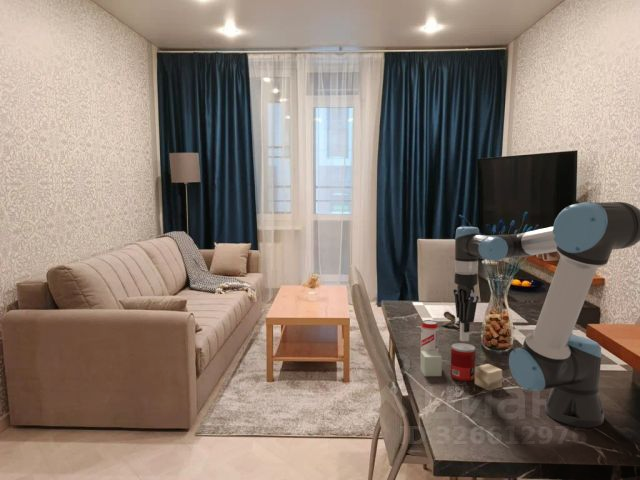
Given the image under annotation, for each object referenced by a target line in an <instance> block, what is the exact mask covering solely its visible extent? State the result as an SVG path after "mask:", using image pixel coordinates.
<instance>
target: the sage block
mask: <svg viewBox="0 0 640 480" xmlns="http://www.w3.org/2000/svg"><path fill="white" fill-rule="evenodd" d="M420 356H421V361H420V364H419V365H420V366H419V367H420V368H419V369H420V372H421V373H422V375H423V376H424V377H442V374H443V371H442V369H443V356H442V355H441V353H440V352H439V350H438V351H421V350H420Z"/></svg>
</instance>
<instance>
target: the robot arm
mask: <svg viewBox="0 0 640 480" xmlns="http://www.w3.org/2000/svg"><path fill="white" fill-rule="evenodd" d="M639 242H640V208H639V207H637V206H635V205H633V204H632V203H630V202H629V203H628V202H622V201H614V202H613V201H611V202H610V201H609V202H604V201H603V202H592V201H585V202H581V203H574V204H573V203H572V204H571V205H568V206H566V207H565V208H563V209H562V210H561V211H560V212H559V213H558V215H556V218H555V219H554V222H553V226H549V227H545V228H538V229H535V230H529V231H526V232H521V233H516V234H515V233H513V234H495V235H493V234H491V235H486V234H480V229H479V228H478V227H475V226H459V227H457V228H456V231H455V237H454V245H455V246H454V271H455V273H454V284H455V285H457V286H456V289H453V294H454V302H455V317H456V319H457V318H458V319H459V320H458V321H460V328H459V341H460V342H469V341H470V327H471V325H470V324H471V323H474V322H475V317H476V310H477V304H478V301H479V299H480V298H479V296H478V295H477V296H476V295H475V286H477V285H478V283H479V282H478V281H479V280H478V279H479V275H478V272H479V259H483V260H486V261H489V262H491V261H494V262H499V261H501V260H503V259H510V258H529V257H532V256H533V257H534V256H535V255H541V254H549V253H554V252H557V253H558V255H559V257H560V258H559V260H558V263H557V266H556V269H555V271H554V274H553V277H552V280H551V283H550V285H549V289H548V292H547V293H546V297H545V300H544V303H543V305H542V308H541V311H540V312H539V313H540V314H539V316H538V319H537V321H536V324H535V328H534V330H533V331H532V332H529V333H527V335H525V337H524V341H523V344H522V346H521V347H515V348H514V349H513V350H511V352H510V353H509V356H508V366H509V370H510V372H511V375H512V377H513V379H514V380H515V382H516V383H517V384H518V385H519V386H520V387H521V388H522V389H524V390H526V391H529V392H535V391H539V392H540V391H543V390H548V389H550V392H549V395H548V398H546V401H545V403H544V411H545V413H546V415H547V416H548V417H550V418H551V419H553V420H555V421H557V422H559V423H562V424H565V425H567V426H572V427H577V428H586V429H588V428H597V427H600V426H601V425H602V424H604V421H605V420H604V418H605V411H604V409H603V406H602V402H601V398H600V395H599V388H600V379H601V378H600V377H601V376H600V375H601V367H602V366H601V363H602V362H601V361H602V347H601V345H600V344H599V343H598V342H597V341H596V340H593V339H590V338H587V337H583V336H580V335H574V334H573V331H574V329H575V325H576V324H577V321H578V319H579V316H580V313H581V312H582V308H583V306H584V303H585V301H586V298H587V295H588V293H589V290H590V289H591V285H592V282H593V280H594V278H595V275H596V273H597V270H598V268H601V267H603V266H606V265H607V264H608V261H609V260H610V257H611V254H612V252H613V250H622V249H628V248H631V247H633V246H635V245H637V244H638V243H639Z"/></svg>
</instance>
